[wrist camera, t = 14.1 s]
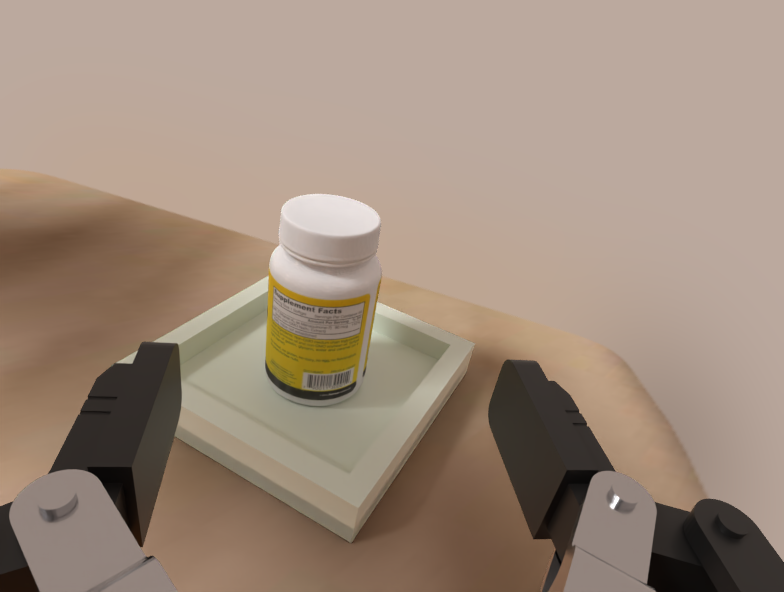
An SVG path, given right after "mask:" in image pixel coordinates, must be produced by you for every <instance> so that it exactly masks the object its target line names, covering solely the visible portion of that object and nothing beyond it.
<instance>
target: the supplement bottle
mask: <svg viewBox="0 0 784 592" xmlns="http://www.w3.org/2000/svg"><path fill="white" fill-rule="evenodd" d="M380 227H381V220H380V217H379V215H378V214H377V212H376V211H375V210H373V209H372V208H371V207H369V206H367V205H366V204H364V203H361V202H359V201H356V200H353V199H350V198H347V197H342V196H337V195H330V194H309V195H302V196H298V197H295V198H292V199H290V200H288V201H287V202H286V203H285V204H284V205H283V207H282V210H281V220H280V228H279V242H280V245H279V246H278V247H276V249H275V250H274V251H273V253H272V255H271V258H270V263H269V280H268V307H267V330H266V357H265V373H266V377H267V380H268V382H269V384H270V385H271V387H272V388H273V389H274V390H275V391H276V392H277V393H278V394H280V395H281V396H283V397H285V398H286V399H289V400H291V401H293V402H296V403H300V404H304V405H310V406H326V405H332V404H336V403H339V402H342V401H344V400H346V399H348V398H349V397H351V396H352V395H353V394H354V393H355V392H356V391H357V390H358V389H359V388H360V386H361V384H362V382H363V380H364V376H365V372H366V366H367V360H368V353H369V347H370V341H371V335H372V329H373V323H374V317H375V311H376V305H377V299H378V294H379V288H380V283H381V277H382V269H381V264H380V262H379V259H378V257H377V256H376V255H375V254H376V252H377V248H378V240H379V234H380Z"/></svg>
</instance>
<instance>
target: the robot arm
mask: <svg viewBox="0 0 784 592" xmlns="http://www.w3.org/2000/svg"><path fill="white" fill-rule="evenodd" d="M181 402H182V388H181V371H180V354H179V346H178V344H177V343H161V342H142V343H141V345H140V347H139V349H138V352H137V354H136V356H135V358H134V361H133V363H132V364H127V363H115V364H113V365H112V366H111V367H110V368H109V369H107V370H106V371H105V372H104V373H103V374H101V375H100V376H99V377H98V378H97V379H96V381H95V383H94V385H93V387H92V389H91V391H90V393H89V395H88V400H86V401H85V403H84V405H83V407H82V409H81V412H80V415H78V417H77V419H76V421H75V423H74V425H73V426H72V428H71V430H70V432H69V434H68V436H67V438H66V440H65V442H64V444H63V446H62V448H61V450H60V452H59V454H58V456H57V458H56V460H55V462H54V464H53V466H52V468H51V470H50V471H49V473H48V474H47V475H44V476H42V477H40V478H38V479H37V480H35V481H33V482H32V483H30V484H29V485H28V486H27V487H25V488H24V489H23V490H22V491H21V492H20V493H19V494H18V496H17V497H16V498H15V500H14V501H13V502H10V503H8V504H5V505H3V506H0V592H178V591H177V590H176V588H175V586H174V585H173V583H172V582H171V580H170V578H169V577H168V575H167V573H166V572H165V570H164V569H163V567H162V565H161V564H160V563H159V561H158V560H157V559H156V558H155V557H154V556H150V557H146V555H145V554H144V553H143V551H142V550H141V548H140V547H143V544H144V541H145V537H146V534H147V530H148V527H149V523H150V520H151V516H152V513H153V509H154V506H155V502H156V499H157V495H158V491H159V488H160V484H161V481H162V477H163V474H164V470H165V467H166V463H167V460H168V456H169V453H170V449H171V446H172V442H173V439H174V435H175V432H176V428H177V425H178V421H179V417H180V411H181ZM488 417H489V424H490V428H491V431H492V433H493V436H494V438H495V441H496V444H497V446H498V449H499V451H500V454H501V457H502V459H503V462H504V464H505V467H506V470H507V472H508V475H509V477H510V480H511V482H512V485H513V488H514V490H515V493H516V495H517V498H518V501H519V503H520V506H521V508H522V511H523V514H524V516H525V519H526V521H527V524H528V527H529V529H530V532H531V534H532V537H533V539H552V541H553V543H554V546H555V549H554V551H553V553H552V555H551V557H550V560H549V563H548V566H547V569H546V573H545V576H544V579H543V582H542V585H541V588H540V591H539V592H784V562H783V561H782V559H781V558H780V557H779V555H778V554H777V553H776V551H775V550H774V548H773V547H772V546H771V544H770V543H769V542H768V540H767V539H766V537H765V536H764V535H763V534H762V532H761V531H760V529H759V528H758V527H757V525H756V524H755V523H754V522H753V521H752V520H751V519H750V518H749V517H747V515H745V514H744V513H743V512H741V511H740V510H738V509H737V508H735V507H734V506H732V505H730V504H728V503H725V502H723V501H719V500H716V499H703V500H700V501H699V502H698V503H697V504H696V505H695V506H694V508H693V509H692V511H691V512H688V511H684V510H681V509H677V508H673V507H670V506H666V505H663V504H659V503H656V502H654V500H653V498H652V497H651V495H650V494H649V493H648V491H647V490H646V489H645V488H644V487H643V486H642V485H640V484H639V483H638V482H637V481H635V480H634V479H632V478H630V477H628V476H626V475H624V474H622V473H618V472H616V471H615V470H614V468H613V466H612V465H611V463H610V461H609V460H608V458H607V456H606V454H605V453H604V451H603V449H602V448H601V446H600V444H599V443H598V441H597V439H596V438H595V436H594V434H593V433H592V431H591V429H590V428H589V427H587V423H586V421H585V419H584V418H583V416H582V414H579V409H578V408H577V406H576V404H575V403H574V401H573V399H572V398H571V396H570V395H569V394H568V393H567V392H566V391H565V390H564V389H563V388H562V387H561V386H559V385H558V384H557V383H556V382H555V381H548V379H547V378H546V376H545V374H544V372H543V371H542V369H541V367H540V365H539V364H538V363H537V362H536V361H528V360H506V361H505V362H504V364H503V366H502V369H501V371H500V374H499V377H498V380H497V383H496V386H495V389H494V392H493V395H492V398H491V401H490V404H489V411H488Z"/></svg>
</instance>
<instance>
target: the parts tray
mask: <svg viewBox="0 0 784 592" xmlns="http://www.w3.org/2000/svg"><path fill="white" fill-rule="evenodd" d="M268 280H269V276H267V277H265V278H263V279H262V280H260V281H258V282H256V283H255V284H253V285H251V286H249V287H248V288H246V289H244V290H242V291H241V292H239V293H237V294H235V295H234V296H232V297H230V298H228V299H227V300H225V301H223V302H221V303H220V304H218V305H216V306H214V307H213V308H211V309H209V310H207V311H206V312H204V313H202V314H200V315H199V316H197V317H195V318H193V319H192V320H190V321H188V322H186V323H185V324H183V325H181V326H179V327H178V328H176V329H174V330H172V331H171V332H169V333H167V334H165V335H164V336H162V337H160V338H158V339H157V340H155V341H153V342H161V343H177V344H178V346H179V354H180V371H181V388H182V402H181V411H180V417H179V421H178V425H177V428H176V432H175V435H174V436H175V437H177V438H178V439H180V440H182V441H183V442H185V443H187V444H188V445H190V446H191V447H193V448H195V449H196V450H198V451H200V452H201V453H203V454H205V455H206V456H208V457H210V458H211V459H213V460H215V461H216V462H218V463H220V464H221V465H223V466H225V467H226V468H228V469H229V470H231V471H233V472H234V473H236V474H238V475H239V476H241V477H243V478H244V479H246V480H248V481H249V482H251V483H253V484H254V485H256V486H258V487H259V488H261V489H262V490H264V491H266V492H267V493H269V494H271V495H272V496H274V497H276V498H277V499H279V500H281V501H282V502H284V503H286V504H287V505H289V506H291V507H292V508H294V509H296V510H297V511H299V512H300V513H302V514H304V515H305V516H307V517H309V518H310V519H312V520H314V521H315V522H317V523H319V524H320V525H322V526H324V527H325V528H327V529H329V530H330V531H332V532H333V533H335V534H337V535H338V536H340V537H342V538H343V539H345V540H347V541H348V542H350V543H352V541H353V540H354V538H355V537H356V535H357V534H358V532H359V531H360V529H361V528H362V526H363V525H364V524H365V522H366V521H367V519H368V518H369V516H370V515H371V513H372V512H373V510H374V509H375V507H376V506H377V504H378V503H379V501H380V500H381V498H382V497H383V495H384V494H385V492H386V491H387V489H388V488H389V486H390V485H391V483H392V482H393V481H394V479H395V478H396V476H397V475H398V473H399V472H400V470H401V469H402V467H403V466H404V464H405V463H406V461H407V460H408V458H409V457H410V455H411V454H412V452H413V451H414V449H415V448H416V446H417V445H418V443H419V442H420V440H421V439H422V438H423V436H424V435H425V433H426V432H427V430H428V429H429V427H430V426H431V424H432V423H433V421H434V420H435V418H436V417H437V415H438V414H439V412H440V411H441V409H442V408H443V406H444V405H445V403H446V402H447V400H448V399H449V397H450V396H451V395H452V393H453V392H454V390H455V389H456V387H457V386H458V384H459V383H460V381H461V380H462V378H463V377H464V375H465V374H466V372H467V368H468V365H469V362H470V359H471V355H472V352H473V349H474V345H475V343H473V342H471V341H468V340H466V339H463V338H461V337H459V336H456V335H454V334H452V333H449V332H447V331H445V330H442V329H440V328H438V327H435V326H433V325H431V324H428V323H426V322H424V321H421V320H419V319H416V318H414V317H412V316H409V315H407V314H405V313H402V312H400V311H398V310H395V309H393V308H391V307H388V306H386V305H384V304H381V303H379V302H377V305H376V311H375V317H374V323H373V329H372V335H371V341H370V347H369V353H368V360H367V366H366V372H365V376H364V380H363V382H362V384H361V386H360V388H359V389H358V390H357V391H356V392H355V393H354V394H353V395H352V396H351V397H349V398H348V399H346V400H344V401H342V402H339V403H336V404H332V405H326V406H310V405H304V404H300V403H296V402H293V401H291V400H289V399H286V398H285V397H283V396H281V395H280V394H278V393H277V392H276V391H275V390H274V389H273V388H272V387H271V385H270V384H269V382H268V380H267V377H266V373H265V357H266V330H267V307H268ZM137 352H138V350H137V351H136V352H134V353H132V354H130V355H129V356H127V357H125V358H123V359H122V360H120V361H118V362H116V363H127V364H132V363H133V361H134V358H135V356H136V354H137ZM111 366H112V365H111Z"/></svg>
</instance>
